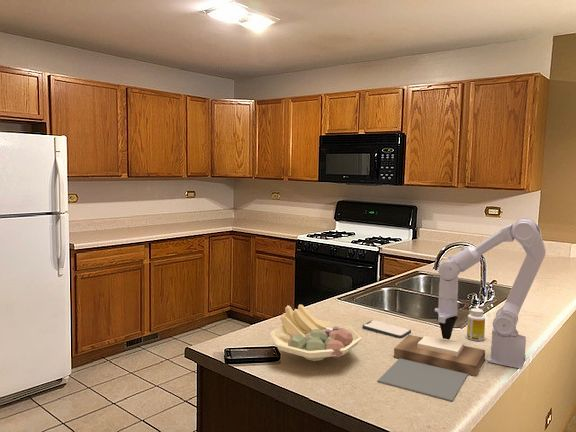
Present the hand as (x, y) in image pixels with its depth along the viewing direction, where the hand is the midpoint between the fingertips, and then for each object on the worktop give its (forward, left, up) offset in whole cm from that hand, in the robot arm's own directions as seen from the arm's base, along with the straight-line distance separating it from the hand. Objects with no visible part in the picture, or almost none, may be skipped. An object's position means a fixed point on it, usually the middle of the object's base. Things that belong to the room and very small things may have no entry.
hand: (446, 338), depth 150 cm
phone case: (+23, -7, -4) cm, 24 cm away
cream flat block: (0, +7, -1) cm, 7 cm away
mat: (0, +25, -4) cm, 25 cm away
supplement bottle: (-6, -16, -4) cm, 17 cm away
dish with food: (+33, +28, -4) cm, 44 cm away
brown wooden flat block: (0, +8, -4) cm, 9 cm away
